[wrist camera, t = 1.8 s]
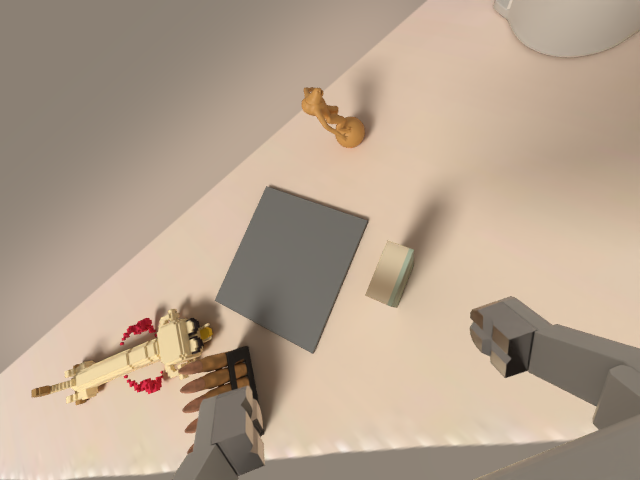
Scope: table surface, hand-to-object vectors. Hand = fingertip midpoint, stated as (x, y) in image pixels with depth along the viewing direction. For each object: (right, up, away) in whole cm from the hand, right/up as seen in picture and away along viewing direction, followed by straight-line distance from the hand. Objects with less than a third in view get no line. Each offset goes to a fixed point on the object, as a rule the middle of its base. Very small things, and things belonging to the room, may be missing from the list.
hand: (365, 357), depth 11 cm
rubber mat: (-6, +1, +31) cm, 31 cm away
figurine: (+2, +18, +32) cm, 37 cm away
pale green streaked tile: (+8, -1, +26) cm, 27 cm away
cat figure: (-27, -13, +35) cm, 46 cm away
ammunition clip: (-11, -15, +29) cm, 34 cm away
